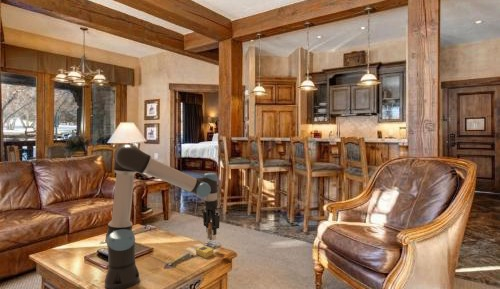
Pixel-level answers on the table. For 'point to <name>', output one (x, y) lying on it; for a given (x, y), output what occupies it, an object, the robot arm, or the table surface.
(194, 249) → the plywood panel
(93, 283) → the table surface
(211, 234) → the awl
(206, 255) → the yellow flat block
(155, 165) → the robot arm
